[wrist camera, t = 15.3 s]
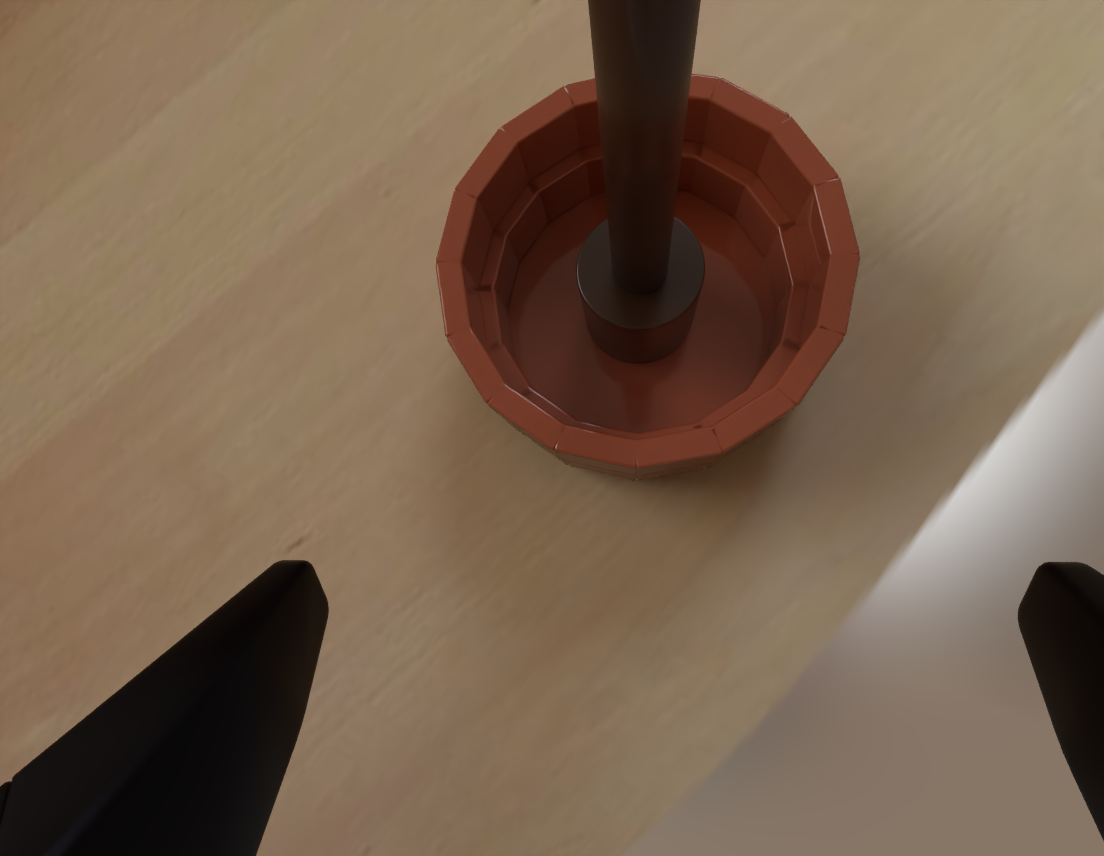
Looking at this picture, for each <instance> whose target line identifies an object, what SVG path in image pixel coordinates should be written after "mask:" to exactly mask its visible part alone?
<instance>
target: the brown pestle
mask: <svg viewBox="0 0 1104 856" xmlns="http://www.w3.org/2000/svg"><path fill="white" fill-rule="evenodd" d="M700 1H701V0H588V4H589V15H590V27H591V38H592V49H593V60H594V71H595V83H596V94H597V105H598V116H599V127H600V138H601V150H602V161H603V172H604V183H605V194H606V206H607V217H608V218H607V219H605V220H604V221H602V222H601V223H600V224H599V225H597V226H596V227H595V228H594V229H593V230H592V231H591V232H590V234H589V235H588V236H587V238H586V239H585V241H584V243H583V245H582V247H581V249H580V252H579V255H578V259H577V265H576V278H577V284H578V288H579V293H580V297H581V301H582V305H583V310H584V314H585V318H586V322H587V326H588V329H589V332H590V334H591V336H592V338H593V339H594V341H595V342H596V343H597V345H598V346H599V347H600V348H601V349H602V350H603V351H605V352H606V353H607V354H609V355H610V356H612V357H614V358H616V359H619V360H622V361H625V362H630V363H647V362H653V361H656V360H659V359H661V358H663V357H665V356H667V355H669V354H670V353H672V352H673V351H674V350H675V349H677V348H678V347H679V346H680V345H681V343H682V342H683V341H684V339H685V338H686V336H687V335H688V333H689V331H690V328H691V325H692V322H693V318H694V315H695V311H696V307H697V304H698V300H699V296H700V293H701V289H702V285H703V281H704V276H705V259H704V254H703V251H702V248H701V245H700V243H699V241H698V239H697V237H696V236H695V235H694V233H693V232H692V231H691V229H690V228H689V227H688V226H687V225H686V224H684V223H683V222H682V221H681V220H679V219H678V218H676V217H674V214H675V205H676V197H677V189H678V181H679V173H680V165H681V156H682V148H683V140H684V132H685V124H686V116H687V107H688V99H689V91H690V83H691V75H692V67H693V59H694V50H695V42H696V34H697V26H698V18H699V10H700Z"/></svg>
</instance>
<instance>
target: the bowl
mask: <svg viewBox="0 0 1104 856" xmlns="http://www.w3.org/2000/svg"><path fill="white" fill-rule="evenodd" d="M455 190H456V191H454V194H453V197H452V201H451V205H450V209H449V213H448V216H447V220H446V224H445V228H444V232H443V236H442V239H441V243H440V247H439V251H438V255H437V258H436V272H437V279H438V286H439V293H440V300H441V307H442V314H443V321H444V328H445V335H446V337H447V340H448V342H449V344H450V346H451V347H452V349H453V351H454V352H455V354H456V355H457V357H458V359H459V360H460V362H461V364H462V365H463V367H464V368H465V370H466V372H467V373H468V375H469V377H470V378H471V380H472V381H473V383H474V385H475V386H476V388H477V390H478V391H479V393H480V394H481V396H482V398H483V399H484V401H485V402H486V403H487V404H488V405H489V407H491V408H492V409H493V410H494V411H495V412H496V413H498V414H499V415H500V416H501V417H502V418H504V419H505V420H506V421H507V422H508V423H509V424H511V425H512V426H513V427H514V428H515V429H517V430H518V431H519V432H521V433H522V434H524V435H525V436H527V437H528V438H529V439H531V440H532V441H534V442H535V443H537V444H538V445H539V446H541V447H542V448H544V449H545V450H546V451H548V452H549V453H551V454H552V455H554V456H555V457H556V458H558V459H559V460H561V461H562V462H564V463H565V464H566V465H570V466H571V467H575V468H580V469H584V470H589V471H593V472H598V473H602V474H607V475H611V476H616V477H620V478H625V479H629V480H636V479H637V480H645V479H651V478H656V477H662V476H668V475H674V474H679V473H685V472H691V471H697V470H702V469H704V468H705V467H706V468H708V467H710V466H712V465H713V464H715V463H716V462H718V461H719V460H721V459H723V458H724V457H726V456H727V455H729V454H730V453H732V452H734V451H735V450H737V449H738V448H740V447H742V446H743V445H745V444H746V443H748V442H749V441H751V440H753V439H754V438H756V437H757V436H759V435H760V434H762V433H764V432H765V431H766V430H767V429H769V428H770V427H771V426H773V425H774V424H775V423H777V422H778V421H779V420H781V419H782V418H783V417H784V416H786V415H787V414H788V413H790V412H791V411H792V410H794V408H795V407H796V406H797V405H799V404H800V402H801V401H802V399H803V398H804V396H805V395H806V393H807V392H808V390H809V389H810V388H811V386H812V385H813V383H814V382H815V380H816V379H817V377H818V376H819V374H820V373H821V372H822V370H823V369H824V367H825V366H826V364H827V363H828V361H829V360H830V358H831V357H832V356H833V354H834V353H835V351H836V350H837V348H838V347H839V345H840V344H841V342H842V341H843V339H844V336H845V335H846V332H847V326H848V321H849V315H850V310H851V304H852V299H853V293H854V288H855V282H856V277H857V271H858V266H859V260H860V256H859V253H860V252H859V248H858V245H857V241H856V237H855V233H854V229H853V225H852V221H851V217H850V214H849V210H848V206H847V202H846V198H845V194H844V190H843V186H842V183H841V179H840V178H838V174H837V173H836V172H835V170H834V169H833V168H832V167H831V165H830V164H829V163H828V162H827V160H826V159H825V158H824V157H823V155H822V154H821V153H820V152H819V150H818V149H817V148H816V147H815V145H814V144H813V143H812V142H811V140H810V139H809V138H808V137H807V135H806V134H805V133H804V132H803V130H802V129H801V128H800V127H799V125H798V124H797V123H796V122H795V120H794V119H793V118H792V117H789V114H788V113H786V112H784V111H782V110H780V109H779V108H777V107H775V106H773V105H771V104H769V103H767V102H766V101H764V100H762V99H760V98H758V97H756V96H755V95H753V94H751V93H749V92H747V91H745V90H743V89H742V88H740V87H738V86H736V85H734V84H732V83H731V82H729V81H727V80H725V79H723V78H721V79H719V78H718V77H713V76H705V75H697V74H692V75H691V83H690V91H689V99H688V107H687V116H686V124H685V132H684V140H683V148H682V156H681V165H680V173H679V181H678V189H677V197H676V205H675V214H674V217H676V218H678V219H679V220H681V221H682V222H683V223H684V224H686V225H687V226H688V227H689V228H690V229H691V231H692V232H693V233H694V235H695V236H696V237H697V239H698V241H699V243H700V245H701V248H702V251H703V254H704V259H705V276H704V281H703V285H702V289H701V293H700V296H699V300H698V304H697V307H696V311H695V315H694V318H693V322H692V325H691V328H690V331H689V333H688V335H687V336H686V338H685V339H684V341H683V342H682V343H681V345H680V346H679V347H678V348H677V349H675V350H674V351H673V352H672V353H670V354H669V355H667V356H665V357H663V358H661V359H659V360H656V361H653V362H647V363H630V362H625V361H622V360H619V359H616V358H614V357H612V356H610V355H609V354H607V353H606V352H605V351H603V350H602V349H601V348H600V347H599V346H598V345H597V343H596V342H595V341H594V339H593V338H592V336H591V334H590V332H589V329H588V326H587V322H586V318H585V314H584V310H583V305H582V301H581V297H580V293H579V288H578V284H577V278H576V265H577V259H578V255H579V252H580V249H581V247H582V245H583V243H584V241H585V239H586V238H587V236H588V235H589V234H590V232H591V231H592V230H593V229H594V228H595V227H596V226H597V225H599V224H600V223H601V222H602V221H604V220H605V219H607V218H608V217H607V206H606V194H605V183H604V172H603V161H602V150H601V138H600V127H599V116H598V105H597V94H596V83H595V78H594V79H589V80H585V81H581V82H577V83H572V84H568V85H566V87H565V86H563V87H561V88H560V89H558V90H557V91H555V92H554V93H552V94H551V95H549V96H548V97H546V98H545V99H543V100H541V101H540V102H538V103H537V104H535V105H534V106H532V107H531V108H529V109H528V110H526V111H525V112H523V113H522V114H520V115H518V116H517V117H515V118H514V119H512V120H511V121H509V122H508V123H506V124H505V125H503V126H502V127H501V129H498V130H497V132H496V133H495V135H494V136H493V137H492V139H491V140H490V141H489V143H488V144H487V145H486V147H485V148H484V150H483V151H482V152H481V154H480V155H479V156H478V158H477V159H476V160H475V162H474V163H473V164H472V166H471V167H470V169H469V170H468V171H467V173H466V174H465V175H464V177H463V178H462V179H461V181H460V182H459V184H458V185H457V186H456V188H455Z"/></svg>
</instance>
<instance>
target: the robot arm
mask: <svg viewBox="0 0 1104 856" xmlns="http://www.w3.org/2000/svg"><path fill="white" fill-rule="evenodd" d="M328 612H329V607H328V601H327V598H326V595H325V593H324V591H323V588H322V586H321V584H320V581H319V579H318V577H317V574H316V572H315V569H314V567H313V566H312V564H311V563H309V562H308V561H305V560H282V561H278V562H276V563H274V564H273V565H272V566H270V567H269V568H268V569H267V570H265V571H264V572H263V573H262V574H261V575H259V576H258V577H257V578H256V579H254V580H253V581H252V582H251V583H249V584H248V585H247V586H246V587H245V588H243V589H242V590H241V591H240V592H238V593H237V594H236V595H235V596H234V597H232V598H231V599H230V600H229V601H227V602H226V603H225V604H224V605H223V606H221V607H220V608H219V609H218V610H216V611H215V612H214V613H213V614H211V615H210V616H209V617H208V618H207V619H205V620H204V621H203V622H202V623H200V624H199V625H198V626H197V627H196V628H194V629H193V630H192V631H191V632H189V633H188V634H187V635H186V636H184V637H183V638H182V639H181V640H180V641H178V642H177V643H176V644H175V645H173V646H172V647H171V648H170V649H169V650H167V651H166V652H165V653H164V654H162V655H161V656H160V657H159V658H158V659H156V660H155V661H154V662H153V663H151V664H150V665H149V666H148V667H146V668H145V669H144V670H143V671H142V672H140V673H139V674H138V675H137V676H135V677H134V678H133V679H132V680H131V681H129V682H128V683H127V684H126V685H124V686H123V687H122V688H121V689H120V690H118V691H117V692H116V693H115V694H113V695H112V696H111V697H110V698H108V699H107V700H106V701H105V702H104V703H102V704H101V705H100V706H99V707H97V708H96V709H95V710H94V711H93V712H91V713H90V714H89V715H88V716H86V717H85V718H84V719H83V720H82V721H80V722H79V723H78V724H77V725H75V726H74V727H73V728H72V729H70V730H69V731H68V732H67V733H66V734H64V735H63V736H62V737H61V738H59V739H58V740H57V741H56V742H55V743H53V744H52V745H51V746H50V747H48V748H47V749H46V750H45V751H43V752H42V753H41V754H40V755H39V756H37V757H36V758H35V759H34V760H32V761H31V762H30V763H29V764H28V765H26V766H25V767H24V768H23V769H21V770H20V771H19V772H18V773H16V774H15V775H14V777H13V779H12V782H10V781H9V782H5V783H4V784H3V785H1V786H0V856H256V854H257V851H258V848H259V845H260V843H261V840H262V837H263V834H264V831H265V828H266V826H267V823H268V820H269V817H270V814H271V812H272V809H273V806H274V803H275V800H276V798H277V795H278V792H279V789H280V786H281V783H282V781H283V778H284V775H285V772H286V769H287V767H288V764H289V761H290V758H291V755H292V752H293V750H294V747H295V744H296V741H297V738H298V735H299V732H300V729H301V726H302V722H303V718H304V714H305V711H306V707H307V703H308V699H309V694H310V690H311V686H312V682H313V678H314V674H315V669H316V665H317V661H318V657H319V653H320V649H321V645H322V640H323V636H324V632H325V628H326V624H327V619H328ZM1018 622H1019V627H1020V631H1021V634H1022V636H1023V639H1024V642H1025V645H1026V648H1027V651H1028V654H1029V657H1030V660H1031V663H1032V666H1033V669H1034V672H1035V674H1036V677H1037V680H1038V683H1039V686H1040V689H1041V692H1042V695H1043V698H1044V701H1045V703H1046V707H1047V710H1048V712H1049V715H1050V718H1051V721H1052V724H1053V727H1054V730H1055V732H1056V735H1057V738H1058V740H1059V743H1060V746H1061V749H1062V751H1063V754H1064V756H1065V758H1066V760H1067V763H1068V765H1069V767H1070V770H1071V772H1072V774H1073V776H1074V778H1075V780H1076V783H1077V785H1078V787H1079V789H1080V791H1081V793H1082V796H1083V798H1084V800H1085V802H1086V804H1087V806H1088V808H1089V810H1090V813H1091V815H1092V817H1093V819H1094V821H1095V823H1096V825H1097V828H1098V830H1099V832H1100V834H1101V836H1102V838H1103V840H1104V575H1103V574H1101V573H1100V572H1098V571H1096V570H1095V569H1093V568H1092V567H1090V566H1088V565H1086V564H1083V563H1079V562H1046V563H1044V564H1042V565H1041V566H1039V567H1038V569H1037V570H1036V572H1035V574H1034V576H1033V578H1032V580H1031V582H1030V585H1029V587H1028V589H1027V591H1026V593H1025V595H1024V597H1023V599H1022V601H1021V603H1020V606H1019V609H1018Z"/></svg>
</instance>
